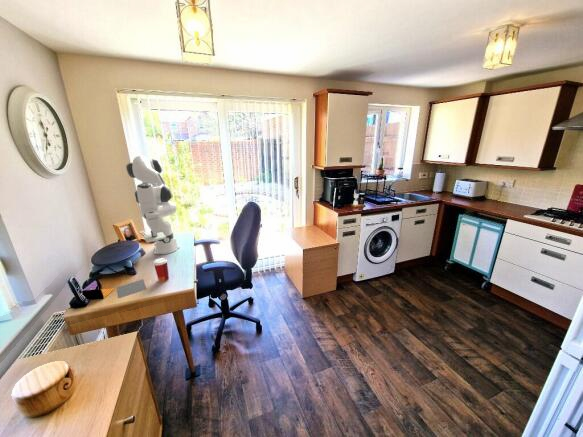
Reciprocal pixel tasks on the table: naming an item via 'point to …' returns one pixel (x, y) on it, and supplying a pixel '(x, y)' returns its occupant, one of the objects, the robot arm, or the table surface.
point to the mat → (131, 288)
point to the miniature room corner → (95, 292)
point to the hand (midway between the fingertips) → (154, 234)
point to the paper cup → (161, 269)
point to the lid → (154, 237)
